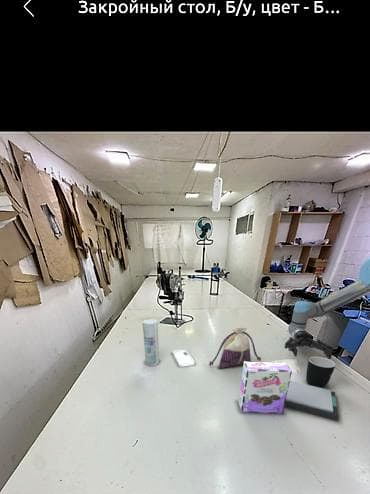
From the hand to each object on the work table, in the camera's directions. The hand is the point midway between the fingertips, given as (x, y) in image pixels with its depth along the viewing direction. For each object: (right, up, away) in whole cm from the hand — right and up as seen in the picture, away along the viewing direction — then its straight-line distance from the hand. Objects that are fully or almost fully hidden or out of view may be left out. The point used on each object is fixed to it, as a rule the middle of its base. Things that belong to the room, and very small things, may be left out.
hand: (313, 355), depth 100 cm
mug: (-2, -11, -5) cm, 12 cm away
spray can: (-70, -4, +10) cm, 71 cm away
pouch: (-32, -5, +8) cm, 33 cm away
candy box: (-29, -18, -20) cm, 40 cm away
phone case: (-56, -2, +13) cm, 57 cm away
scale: (-10, -16, -16) cm, 25 cm away
